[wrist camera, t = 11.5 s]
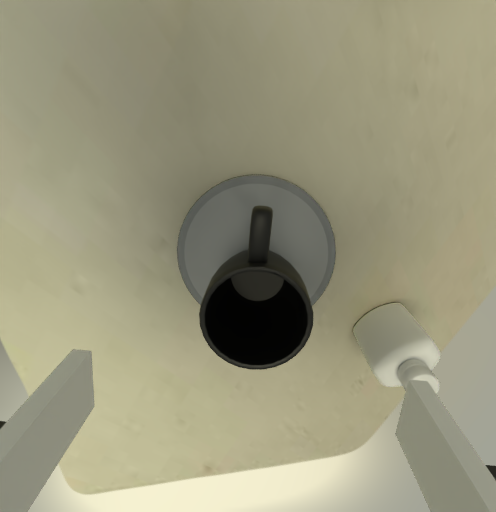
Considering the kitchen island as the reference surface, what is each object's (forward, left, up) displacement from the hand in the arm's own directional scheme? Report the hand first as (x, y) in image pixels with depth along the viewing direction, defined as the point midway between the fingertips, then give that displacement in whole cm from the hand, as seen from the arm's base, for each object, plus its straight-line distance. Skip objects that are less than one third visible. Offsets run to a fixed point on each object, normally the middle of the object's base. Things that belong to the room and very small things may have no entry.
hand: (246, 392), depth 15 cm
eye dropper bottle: (+6, +13, -22) cm, 26 cm away
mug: (0, 0, -21) cm, 21 cm away
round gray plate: (0, 0, -21) cm, 21 cm away
